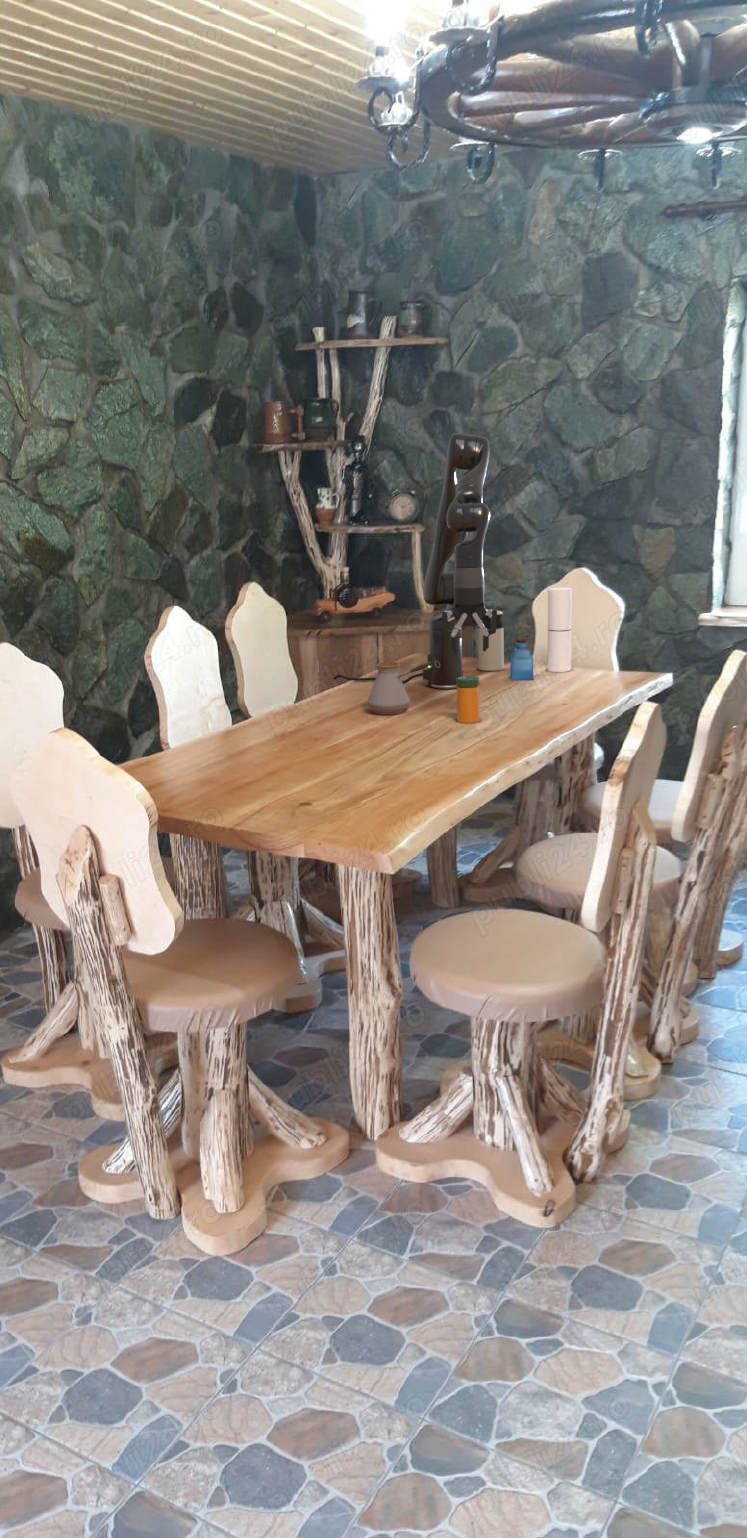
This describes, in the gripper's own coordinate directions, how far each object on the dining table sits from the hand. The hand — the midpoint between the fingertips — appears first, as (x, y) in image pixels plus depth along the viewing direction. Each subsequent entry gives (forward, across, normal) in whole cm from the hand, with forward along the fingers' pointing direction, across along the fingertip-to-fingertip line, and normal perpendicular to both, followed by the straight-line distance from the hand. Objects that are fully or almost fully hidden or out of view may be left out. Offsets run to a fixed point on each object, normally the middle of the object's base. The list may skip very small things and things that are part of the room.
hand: (469, 651), depth 297 cm
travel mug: (+18, -11, -72) cm, 75 cm away
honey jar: (+18, +1, 0) cm, 18 cm away
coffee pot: (+18, +17, -10) cm, 27 cm away
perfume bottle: (+18, -19, -56) cm, 61 cm away
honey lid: (+7, +1, 0) cm, 7 cm away
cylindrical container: (+18, -32, -68) cm, 77 cm away
